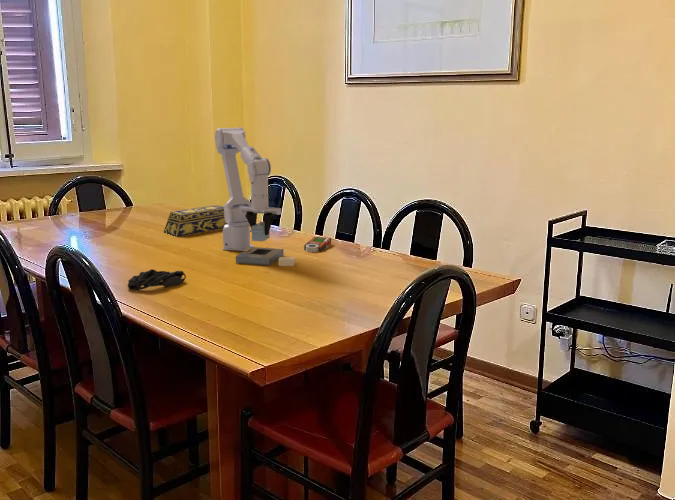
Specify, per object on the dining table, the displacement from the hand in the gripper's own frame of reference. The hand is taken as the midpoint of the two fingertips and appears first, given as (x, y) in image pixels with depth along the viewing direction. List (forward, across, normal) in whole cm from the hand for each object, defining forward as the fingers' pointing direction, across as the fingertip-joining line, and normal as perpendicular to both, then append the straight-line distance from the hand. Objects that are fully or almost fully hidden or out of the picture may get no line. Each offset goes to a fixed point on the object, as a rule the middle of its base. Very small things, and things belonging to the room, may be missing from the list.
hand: (260, 234), depth 227 cm
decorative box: (+9, -43, +39) cm, 58 cm away
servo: (+2, 0, 0) cm, 2 cm away
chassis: (+9, 0, -1) cm, 9 cm away
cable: (+9, -20, -37) cm, 43 cm away
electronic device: (+9, +14, +21) cm, 27 cm away
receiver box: (+9, +11, -5) cm, 15 cm away
